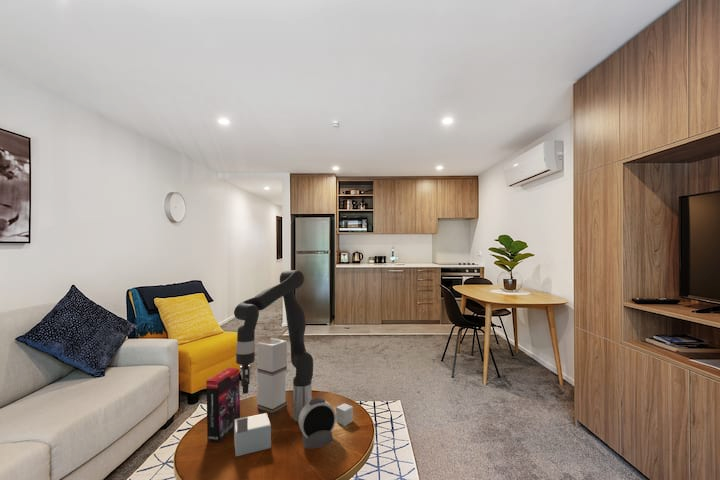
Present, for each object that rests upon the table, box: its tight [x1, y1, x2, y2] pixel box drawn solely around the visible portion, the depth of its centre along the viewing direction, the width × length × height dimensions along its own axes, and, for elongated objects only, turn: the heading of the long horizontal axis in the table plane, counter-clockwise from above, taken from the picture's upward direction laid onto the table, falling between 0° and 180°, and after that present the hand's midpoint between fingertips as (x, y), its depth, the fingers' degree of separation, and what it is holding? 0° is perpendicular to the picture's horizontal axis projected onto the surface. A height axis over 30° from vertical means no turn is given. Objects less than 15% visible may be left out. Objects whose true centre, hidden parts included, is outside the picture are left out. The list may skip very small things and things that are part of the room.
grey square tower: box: [256, 337, 288, 414], centre depth 180 cm, size 11×11×35 cm
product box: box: [335, 403, 354, 427], centre depth 163 cm, size 6×6×7 cm
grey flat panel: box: [235, 416, 272, 457], centre depth 139 cm, size 14×1×15 cm, turn 114°
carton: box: [233, 412, 271, 454], centre depth 144 cm, size 14×11×10 cm
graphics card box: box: [205, 367, 241, 443], centre depth 155 cm, size 17×7×27 cm, turn 168°
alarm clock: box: [297, 397, 337, 450], centre depth 147 cm, size 16×10×18 cm, turn 115°
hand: (244, 389), depth 140 cm, fingers open, 8 cm apart
